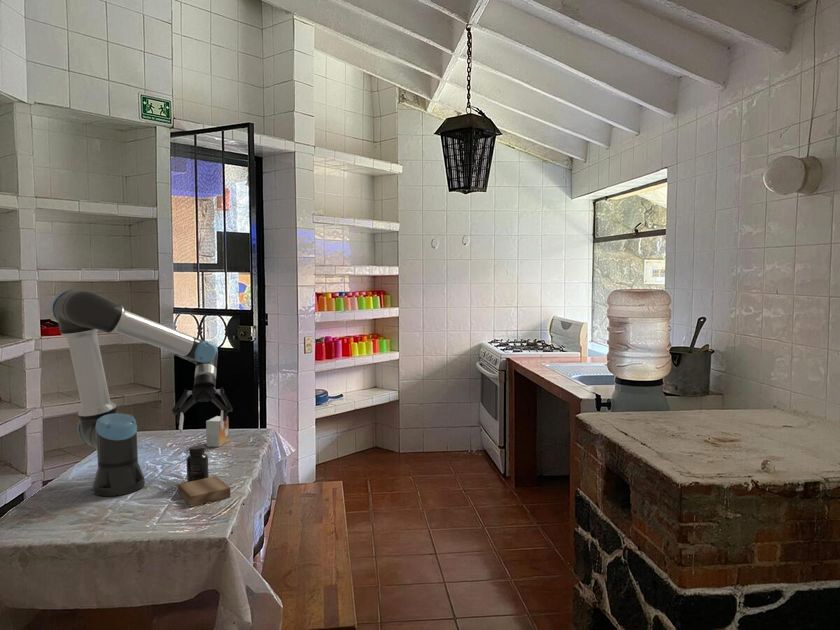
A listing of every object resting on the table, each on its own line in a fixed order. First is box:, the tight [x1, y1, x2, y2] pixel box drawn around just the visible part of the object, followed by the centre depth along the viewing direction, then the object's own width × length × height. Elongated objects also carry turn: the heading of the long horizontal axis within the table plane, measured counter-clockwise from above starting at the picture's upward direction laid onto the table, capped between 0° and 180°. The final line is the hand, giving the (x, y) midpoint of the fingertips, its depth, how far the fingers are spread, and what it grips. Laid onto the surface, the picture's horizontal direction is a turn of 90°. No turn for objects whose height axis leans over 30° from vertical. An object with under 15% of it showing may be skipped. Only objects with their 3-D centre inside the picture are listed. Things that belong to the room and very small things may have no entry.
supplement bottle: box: [186, 444, 210, 482], centre depth 202 cm, size 7×7×12 cm
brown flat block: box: [177, 475, 231, 507], centre depth 191 cm, size 12×13×3 cm
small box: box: [205, 415, 230, 448], centre depth 245 cm, size 8×6×10 cm
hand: (201, 429), depth 212 cm, fingers open, 13 cm apart
